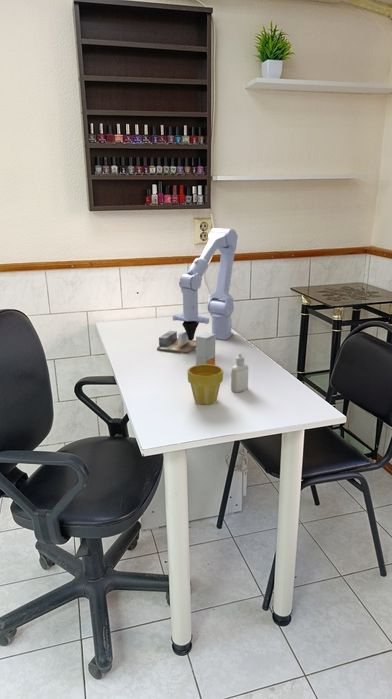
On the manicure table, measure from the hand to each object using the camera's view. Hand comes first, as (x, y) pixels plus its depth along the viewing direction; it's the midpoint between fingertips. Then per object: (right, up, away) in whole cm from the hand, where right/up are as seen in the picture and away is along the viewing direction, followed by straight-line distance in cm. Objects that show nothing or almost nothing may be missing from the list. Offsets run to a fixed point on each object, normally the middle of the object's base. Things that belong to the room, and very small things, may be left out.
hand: (191, 339), depth 192 cm
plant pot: (+5, -19, -45) cm, 49 cm away
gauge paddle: (-3, -2, 0) cm, 4 cm away
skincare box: (+5, -10, -20) cm, 23 cm away
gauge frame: (-4, -3, +3) cm, 6 cm away
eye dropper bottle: (+15, -17, -38) cm, 44 cm away
